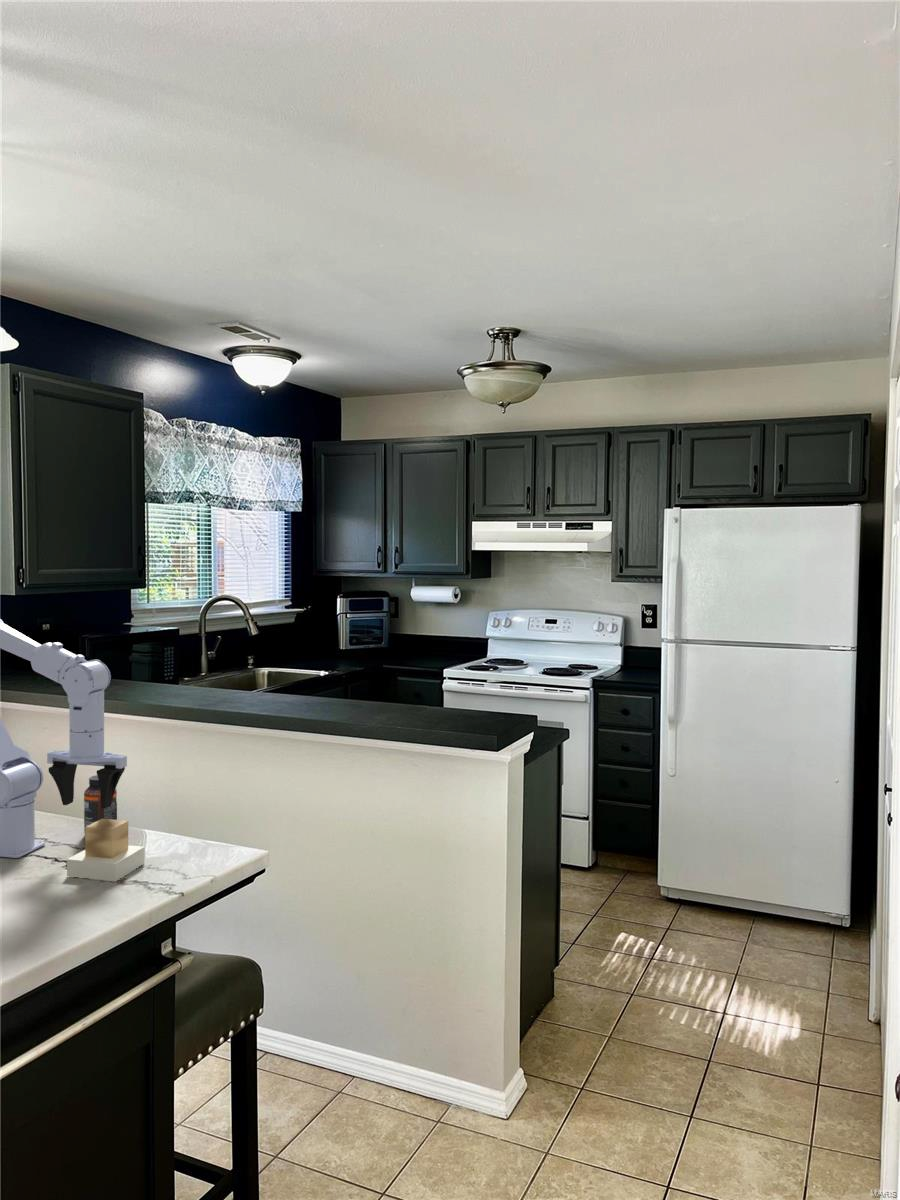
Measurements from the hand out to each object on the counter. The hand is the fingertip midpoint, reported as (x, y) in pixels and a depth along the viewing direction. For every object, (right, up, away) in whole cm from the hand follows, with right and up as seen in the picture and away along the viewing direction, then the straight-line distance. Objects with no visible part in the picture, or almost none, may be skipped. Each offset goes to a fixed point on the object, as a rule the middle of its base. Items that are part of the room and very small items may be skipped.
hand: (87, 805), depth 160 cm
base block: (+6, -10, -6) cm, 13 cm away
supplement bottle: (-3, -9, +13) cm, 16 cm away
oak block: (+6, -7, -6) cm, 11 cm away
